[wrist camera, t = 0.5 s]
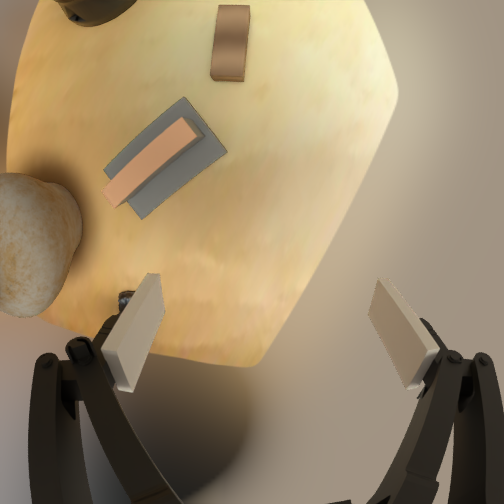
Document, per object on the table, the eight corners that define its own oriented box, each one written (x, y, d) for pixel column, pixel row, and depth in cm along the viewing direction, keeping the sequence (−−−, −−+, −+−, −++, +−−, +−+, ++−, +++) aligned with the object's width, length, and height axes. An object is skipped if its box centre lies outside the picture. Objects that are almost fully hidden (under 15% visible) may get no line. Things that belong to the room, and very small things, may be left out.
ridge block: (106, 168, 37) (82, 176, 30) (185, 97, 33) (171, 90, 27) (144, 218, 40) (125, 233, 34) (227, 151, 36) (221, 154, 30)
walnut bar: (221, 15, 28) (218, 4, 25) (250, 16, 28) (249, 5, 25) (214, 81, 33) (210, 75, 29) (243, 82, 33) (242, 76, 29)
